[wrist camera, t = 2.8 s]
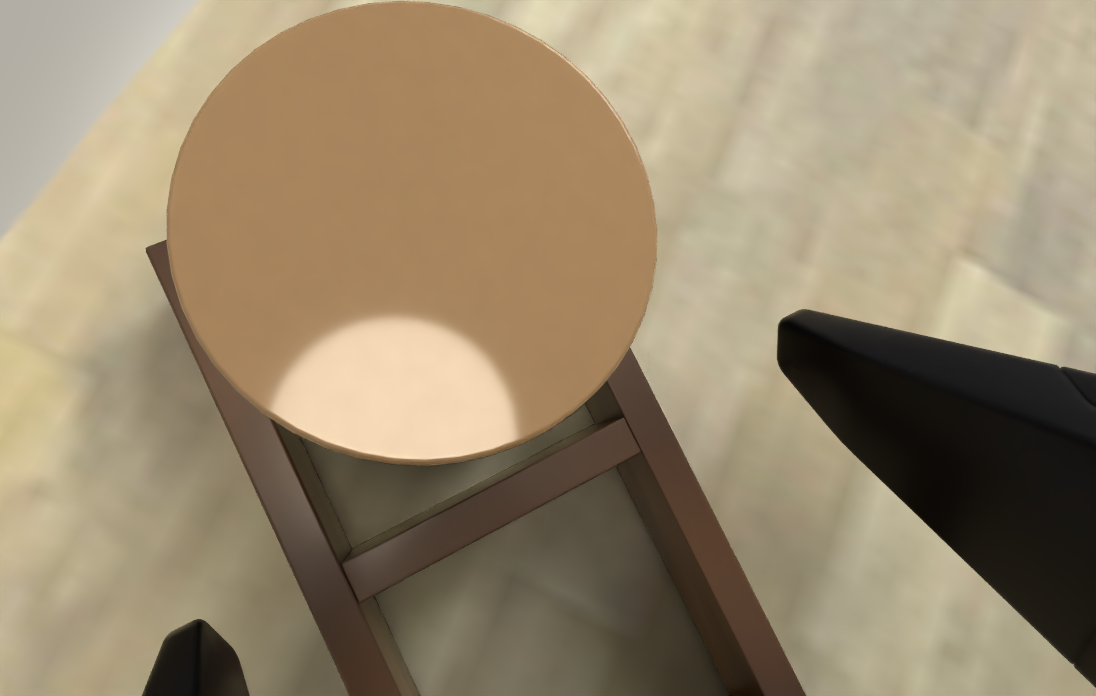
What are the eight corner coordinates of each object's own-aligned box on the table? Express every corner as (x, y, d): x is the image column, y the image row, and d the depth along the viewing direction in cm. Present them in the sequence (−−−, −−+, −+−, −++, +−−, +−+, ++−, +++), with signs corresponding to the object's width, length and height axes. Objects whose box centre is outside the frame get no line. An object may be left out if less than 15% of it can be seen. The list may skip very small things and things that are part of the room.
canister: (534, 449, 20) (696, 425, 9) (326, 481, 19) (185, 505, 7) (506, 255, 21) (618, -6, 9) (304, 275, 20) (145, 3, 8)
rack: (773, 707, 20) (833, 747, 17) (474, 908, 18) (485, 993, 15) (497, 156, 21) (509, 108, 19) (184, 280, 19) (142, 247, 16)
